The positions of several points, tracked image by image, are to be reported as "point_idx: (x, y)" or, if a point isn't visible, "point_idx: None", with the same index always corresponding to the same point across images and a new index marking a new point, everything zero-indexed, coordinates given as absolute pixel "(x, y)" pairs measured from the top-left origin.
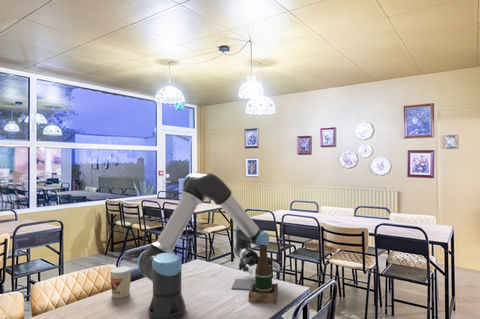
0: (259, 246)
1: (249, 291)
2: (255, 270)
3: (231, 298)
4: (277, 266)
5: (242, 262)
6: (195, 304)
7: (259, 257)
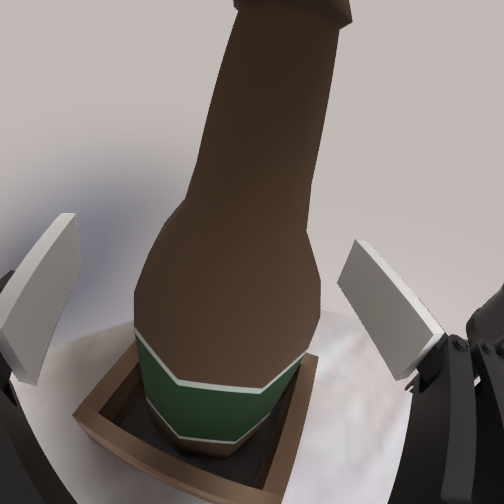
0: (349, 11)
1: (313, 376)
2: (314, 326)
3: (383, 431)
4: (70, 240)
5: (496, 431)
6: (474, 385)
7: (316, 156)
